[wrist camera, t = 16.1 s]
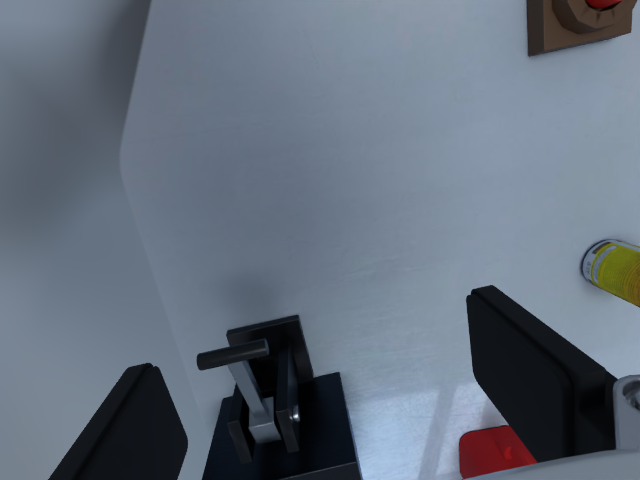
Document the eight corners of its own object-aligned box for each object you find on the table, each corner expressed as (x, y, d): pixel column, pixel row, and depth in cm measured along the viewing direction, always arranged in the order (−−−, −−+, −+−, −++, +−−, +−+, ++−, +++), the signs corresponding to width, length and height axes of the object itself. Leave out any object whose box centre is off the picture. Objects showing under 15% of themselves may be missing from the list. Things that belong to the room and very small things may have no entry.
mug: (517, 469, 48) (577, 558, 38) (458, 480, 48) (503, 573, 38) (519, 397, 45) (586, 474, 35) (456, 408, 44) (505, 489, 34)
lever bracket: (227, 330, 39) (201, 409, 28) (298, 314, 39) (300, 386, 28) (246, 389, 41) (229, 484, 30) (313, 373, 41) (321, 463, 30)
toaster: (222, 398, 41) (195, 500, 30) (339, 371, 42) (357, 463, 30) (245, 462, 44) (228, 578, 33) (354, 437, 45) (376, 543, 33)
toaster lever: (199, 343, 26) (193, 370, 24) (264, 328, 26) (264, 354, 24) (242, 422, 32) (241, 449, 30) (296, 410, 32) (298, 436, 30)
